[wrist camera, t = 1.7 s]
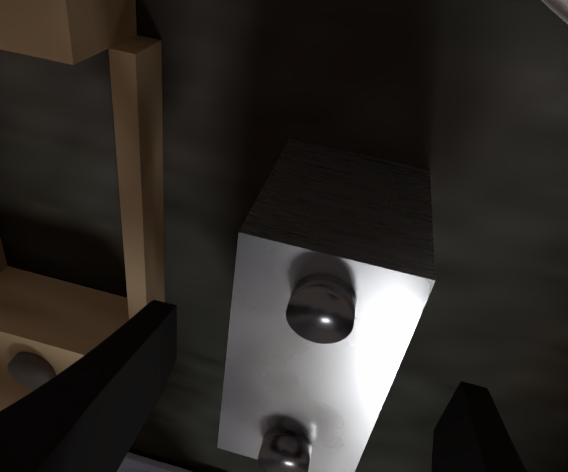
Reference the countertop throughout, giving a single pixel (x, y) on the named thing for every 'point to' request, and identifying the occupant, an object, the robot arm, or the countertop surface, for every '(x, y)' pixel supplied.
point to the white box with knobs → (323, 306)
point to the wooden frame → (132, 188)
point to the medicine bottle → (558, 8)
